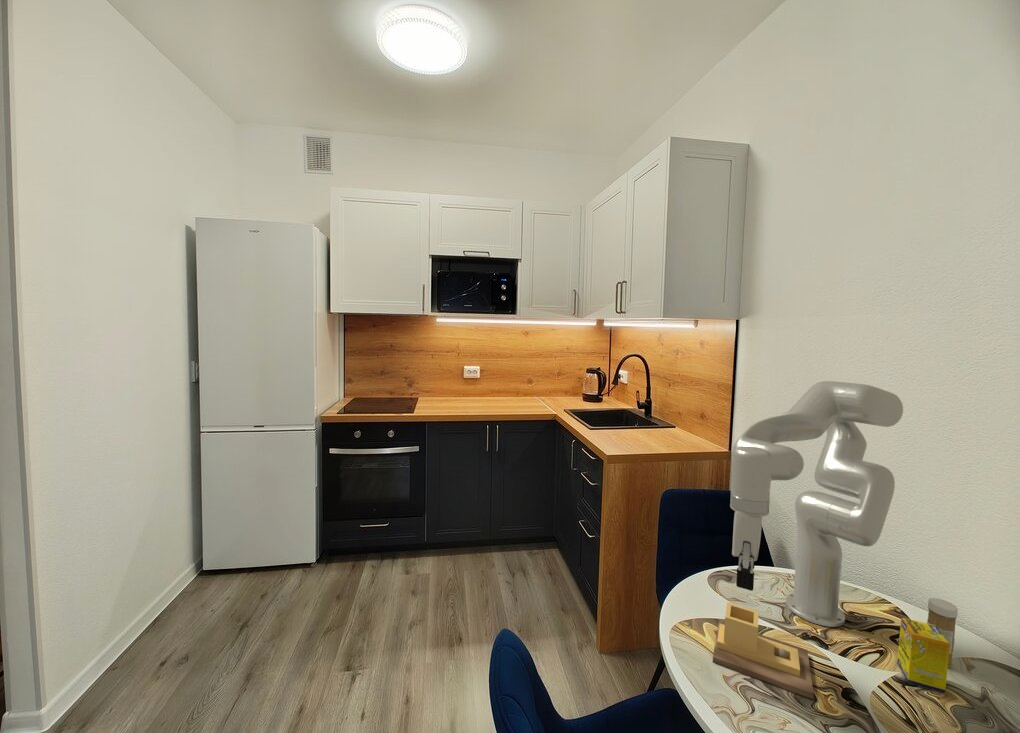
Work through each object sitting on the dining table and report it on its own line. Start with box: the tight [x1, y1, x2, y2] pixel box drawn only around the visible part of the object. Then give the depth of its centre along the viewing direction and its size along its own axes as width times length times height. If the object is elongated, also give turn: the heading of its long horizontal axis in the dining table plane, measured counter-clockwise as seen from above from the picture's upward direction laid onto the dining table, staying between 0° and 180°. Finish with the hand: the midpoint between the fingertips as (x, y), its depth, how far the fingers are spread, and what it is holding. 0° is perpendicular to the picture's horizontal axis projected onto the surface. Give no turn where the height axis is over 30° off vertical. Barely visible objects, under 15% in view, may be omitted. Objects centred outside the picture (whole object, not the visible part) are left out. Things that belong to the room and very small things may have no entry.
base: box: [712, 620, 814, 700], centre depth 94 cm, size 14×18×5 cm
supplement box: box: [896, 617, 950, 694], centre depth 89 cm, size 6×6×11 cm
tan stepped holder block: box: [717, 601, 800, 677], centre depth 94 cm, size 16×7×8 cm, turn 59°
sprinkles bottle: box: [926, 597, 959, 668], centre depth 94 cm, size 5×5×14 cm
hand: (745, 577), depth 95 cm, fingers open, 9 cm apart
